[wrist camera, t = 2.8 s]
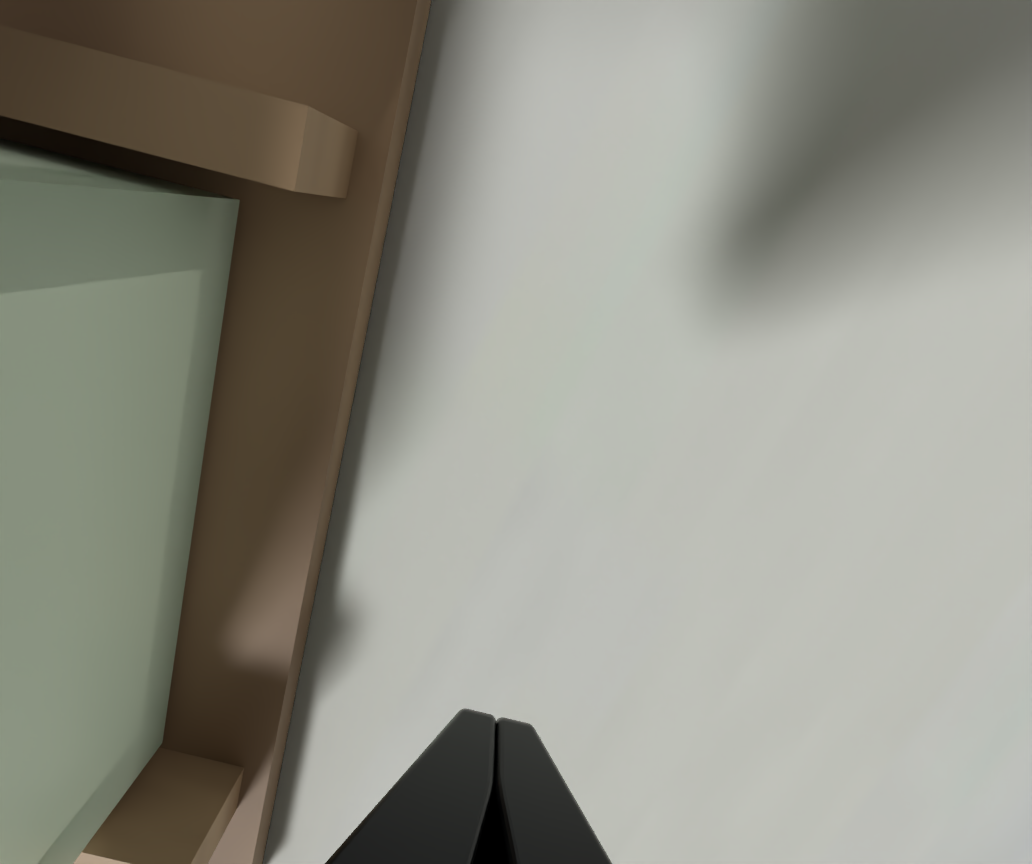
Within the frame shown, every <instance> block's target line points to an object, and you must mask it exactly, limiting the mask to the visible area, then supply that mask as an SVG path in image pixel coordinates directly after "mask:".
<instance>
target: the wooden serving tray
mask: <svg viewBox="0 0 1032 864" xmlns="http://www.w3.org/2000/svg"><path fill="white" fill-rule="evenodd" d="M430 5H431V0H0V138H2V139H6V140H10V141H14V142H18V143H22V144H26V145H30V146H33V147H37V148H41V149H45V150H49V151H53V152H57V153H61V154H64V155H68V156H72V157H76V158H80V159H84V160H88V161H92V162H95V163H99V164H103V165H107V166H111V167H115V168H119V169H123V170H126V171H130V172H134V173H138V174H142V175H146V176H150V177H154V178H157V179H161V180H165V181H169V182H173V183H177V184H181V185H184V186H188V187H192V188H196V189H200V190H204V191H208V192H212V193H215V194H219V195H223V196H227V197H231V198H235V199H239V200H240V202H239V209H238V216H237V223H236V230H235V237H234V244H233V251H232V258H231V265H230V272H229V279H228V286H227V293H226V300H225V307H224V315H223V322H222V329H221V336H220V343H219V350H218V357H217V364H216V371H215V378H214V385H213V392H212V399H211V406H210V413H209V420H208V427H207V434H206V441H205V448H204V455H203V462H202V469H201V476H200V483H199V490H198V497H197V504H196V511H195V518H194V525H193V532H192V539H191V546H190V553H189V560H188V567H187V574H186V581H185V588H184V595H183V602H182V609H181V616H180V623H179V630H178V637H177V644H176V651H175V658H174V665H173V672H172V679H171V686H170V693H169V700H168V707H167V714H166V721H165V728H164V735H163V742H162V744H161V745H160V747H159V748H158V749H157V751H156V752H155V753H154V755H153V756H152V757H151V759H150V760H149V762H148V763H147V764H146V766H145V767H144V768H143V770H142V771H141V772H140V774H139V775H138V776H137V778H136V779H135V780H134V782H133V783H132V785H131V786H130V787H129V789H128V790H127V791H126V793H125V794H124V795H123V797H122V798H121V799H120V801H119V802H118V803H117V805H116V806H115V807H114V809H113V810H112V812H111V813H110V814H109V816H108V817H107V818H106V820H105V821H104V822H103V824H102V825H101V826H100V828H99V829H98V830H97V832H96V833H95V835H94V836H93V837H92V839H91V840H90V841H89V843H88V844H87V845H86V847H85V848H84V849H83V851H82V852H81V853H80V855H79V856H78V858H77V859H76V860H75V862H74V863H73V864H262V863H263V857H264V852H265V847H266V842H267V837H268V832H269V827H270V822H271V817H272V812H273V806H274V801H275V796H276V791H277V786H278V781H279V776H280V771H281V766H282V760H283V755H284V750H285V745H286V740H287V735H288V730H289V725H290V720H291V715H292V709H293V704H294V699H295V694H296V689H297V684H298V679H299V674H300V669H301V664H302V658H303V653H304V648H305V643H306V638H307V633H308V628H309V623H310V618H311V612H312V607H313V602H314V597H315V592H316V587H317V582H318V577H319V572H320V567H321V561H322V556H323V551H324V546H325V541H326V536H327V531H328V526H329V521H330V516H331V510H332V505H333V500H334V495H335V490H336V485H337V480H338V475H339V470H340V465H341V459H342V454H343V449H344V444H345V439H346V434H347V429H348V424H349V419H350V413H351V408H352V403H353V398H354V393H355V388H356V383H357V378H358V373H359V368H360V362H361V357H362V352H363V347H364V342H365V337H366V332H367V327H368V322H369V317H370V311H371V306H372V301H373V296H374V291H375V286H376V281H377V276H378V271H379V266H380V260H381V255H382V250H383V245H384V240H385V235H386V230H387V225H388V220H389V214H390V209H391V204H392V199H393V194H394V189H395V184H396V179H397V174H398V169H399V163H400V158H401V153H402V148H403V143H404V138H405V133H406V128H407V123H408V118H409V112H410V107H411V102H412V97H413V92H414V87H415V82H416V77H417V72H418V66H419V61H420V56H421V51H422V46H423V41H424V36H425V31H426V26H427V21H428V15H429V10H430Z"/></svg>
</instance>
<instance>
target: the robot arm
mask: <svg viewBox="0 0 1032 864" xmlns="http://www.w3.org/2000/svg"><path fill="white" fill-rule="evenodd" d="M325 864H612V863H611V861H610V859H609V858H608V856H607V854H606V852H605V851H604V849H603V847H602V845H601V844H600V842H599V840H598V838H597V837H596V835H595V833H594V831H593V830H592V828H591V826H590V824H589V823H588V821H587V819H586V818H585V816H584V814H583V812H582V811H581V809H580V807H579V805H578V804H577V802H576V800H575V798H574V797H573V795H572V793H571V791H570V790H569V788H568V786H567V784H566V783H565V781H564V779H563V778H562V776H561V774H560V772H559V771H558V769H557V767H556V765H555V764H554V762H553V760H552V758H551V757H550V755H549V753H548V751H547V750H546V748H545V746H544V744H543V743H542V741H541V739H540V738H539V736H538V734H537V732H536V731H535V729H534V727H533V726H532V725H530V724H528V723H524V722H520V721H516V720H512V719H507V718H499V719H498V720H497V721H496V720H495V718H494V717H493V716H492V715H490V714H486V713H482V712H478V711H474V710H470V709H462V710H460V711H459V712H458V713H457V714H456V715H455V717H454V718H453V719H452V720H451V721H450V722H449V723H448V724H447V726H446V727H445V728H444V729H443V730H442V731H441V732H440V734H439V735H438V736H437V737H436V738H435V739H434V740H433V742H432V743H431V744H430V745H429V746H428V747H427V748H426V749H425V751H424V752H423V753H422V754H421V755H420V756H419V757H418V759H417V760H416V761H415V762H414V763H413V764H412V765H411V766H410V768H409V769H408V770H407V771H406V772H405V773H404V774H403V776H402V777H401V778H400V779H399V780H398V781H397V782H396V784H395V785H394V786H393V787H392V788H391V789H390V790H389V791H388V793H387V794H386V795H385V796H384V797H383V798H382V799H381V801H380V802H379V803H378V804H377V805H376V806H375V807H374V809H373V810H372V811H371V812H370V813H369V814H368V815H367V816H366V818H365V819H364V820H363V821H362V822H361V823H360V824H359V826H358V827H357V828H356V829H355V830H354V831H353V832H352V834H351V835H350V836H349V837H348V838H347V839H346V840H345V841H344V843H343V844H342V845H341V846H340V847H339V848H338V849H337V851H336V852H335V853H334V854H333V855H332V856H331V857H330V859H329V860H328V861H327V862H326V863H325Z"/></svg>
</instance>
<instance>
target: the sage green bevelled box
mask: <svg viewBox="0 0 1032 864" xmlns="http://www.w3.org/2000/svg"><path fill="white" fill-rule="evenodd" d="M239 202H240V200H239V199H235V198H231V197H227V196H223V195H219V194H215V193H212V192H208V191H204V190H200V189H196V188H192V187H188V186H184V185H181V184H177V183H173V182H169V181H165V180H161V179H157V178H154V177H150V176H146V175H142V174H138V173H134V172H130V171H126V170H123V169H119V168H115V167H111V166H107V165H103V164H99V163H95V162H92V161H88V160H84V159H80V158H76V157H72V156H68V155H64V154H61V153H57V152H53V151H49V150H45V149H41V148H37V147H33V146H30V145H26V144H22V143H18V142H14V141H10V140H6V139H2V138H0V864H73V863H74V862H75V860H76V859H77V858H78V856H79V855H80V853H81V852H82V851H83V849H84V848H85V847H86V845H87V844H88V843H89V841H90V840H91V839H92V837H93V836H94V835H95V833H96V832H97V830H98V829H99V828H100V826H101V825H102V824H103V822H104V821H105V820H106V818H107V817H108V816H109V814H110V813H111V812H112V810H113V809H114V807H115V806H116V805H117V803H118V802H119V801H120V799H121V798H122V797H123V795H124V794H125V793H126V791H127V790H128V789H129V787H130V786H131V785H132V783H133V782H134V780H135V779H136V778H137V776H138V775H139V774H140V772H141V771H142V770H143V768H144V767H145V766H146V764H147V763H148V762H149V760H150V759H151V757H152V756H153V755H154V753H155V752H156V751H157V749H158V748H159V747H160V745H161V744H162V742H163V735H164V728H165V721H166V714H167V707H168V700H169V693H170V686H171V679H172V672H173V665H174V658H175V651H176V644H177V637H178V630H179V623H180V616H181V609H182V602H183V595H184V588H185V581H186V574H187V567H188V560H189V553H190V546H191V539H192V532H193V525H194V518H195V511H196V504H197V497H198V490H199V483H200V476H201V469H202V462H203V455H204V448H205V441H206V434H207V427H208V420H209V413H210V406H211V399H212V392H213V385H214V378H215V371H216V364H217V357H218V350H219V343H220V336H221V329H222V322H223V315H224V307H225V300H226V293H227V286H228V279H229V272H230V265H231V258H232V251H233V244H234V237H235V230H236V223H237V216H238V209H239Z"/></svg>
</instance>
